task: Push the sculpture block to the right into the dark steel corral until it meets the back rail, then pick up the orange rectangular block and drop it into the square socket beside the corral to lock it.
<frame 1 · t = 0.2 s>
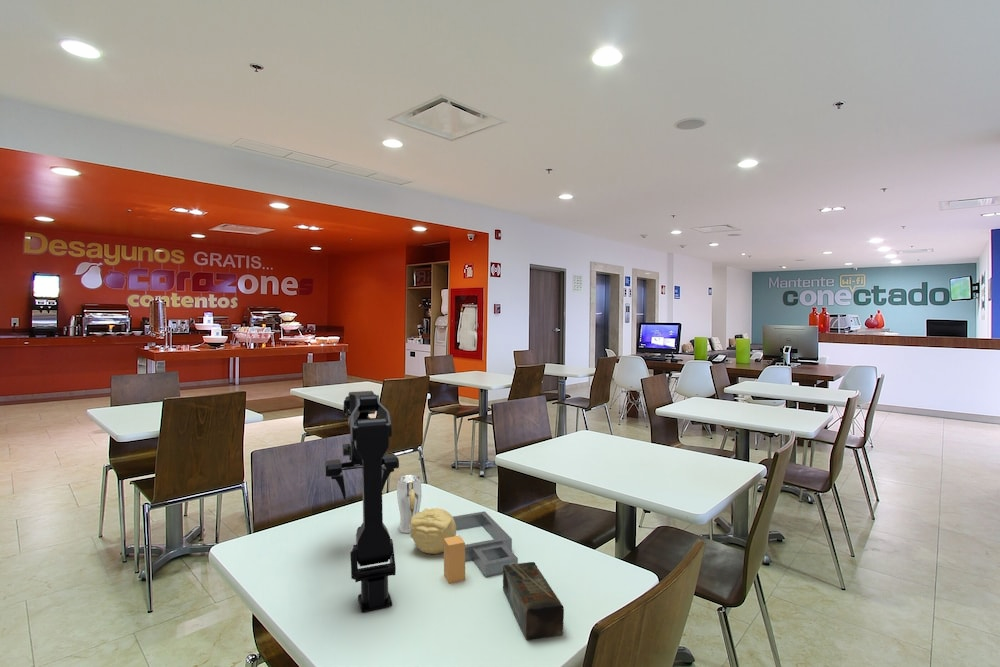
hand: (362, 496, 134), 14 cm above the table, tool pointing down, fingers open, 9 cm apart
beer glass: (409, 529, 146), on the table
sculpture: (434, 549, 134), on the table
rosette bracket: (484, 552, 132), on the table
orange rectangular block: (454, 577, 119), on the table
beverage carton: (530, 612, 106), on the table
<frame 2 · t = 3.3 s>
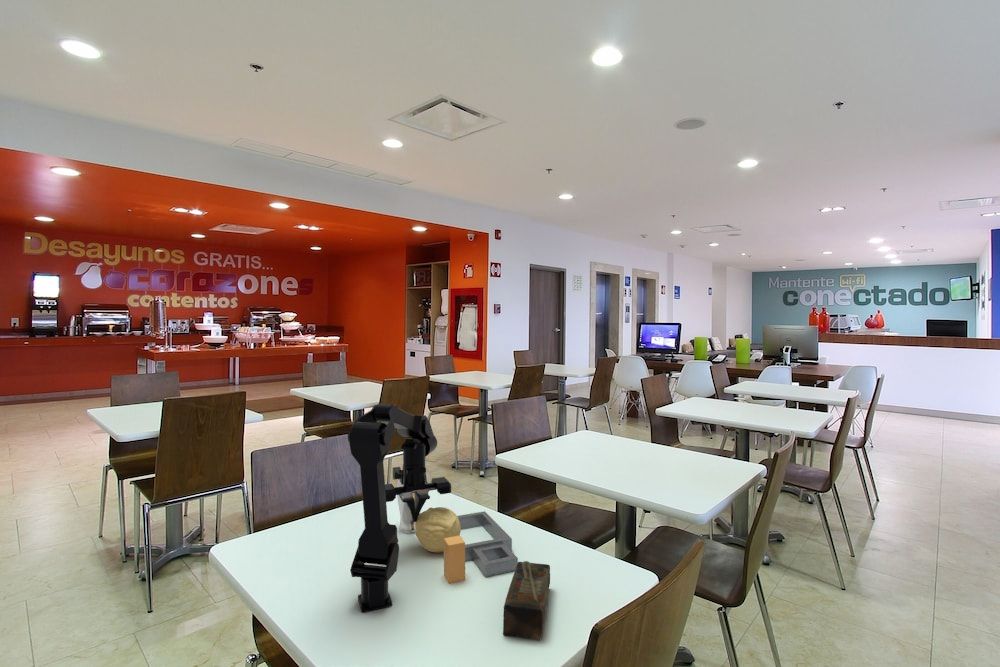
hand: (414, 521, 132), 8 cm above the table, tool pointing down, fingers closed
sculpture: (438, 547, 135), on the table, touching gripper
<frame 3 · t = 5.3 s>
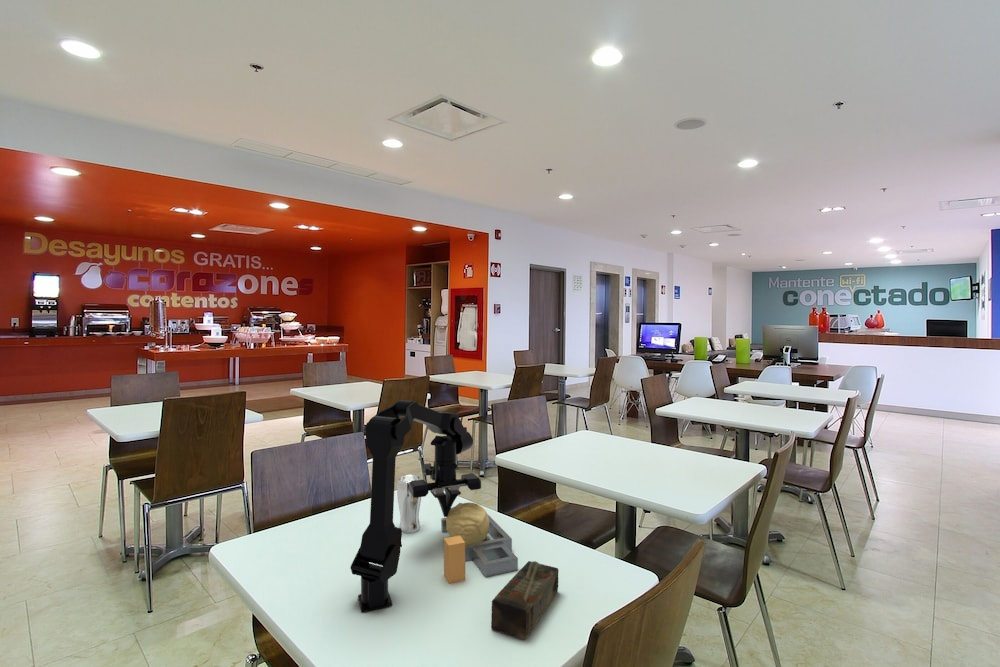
hand: (445, 516, 135), 8 cm above the table, tool pointing down, fingers closed
sculpture: (468, 542, 138), on the table, touching gripper
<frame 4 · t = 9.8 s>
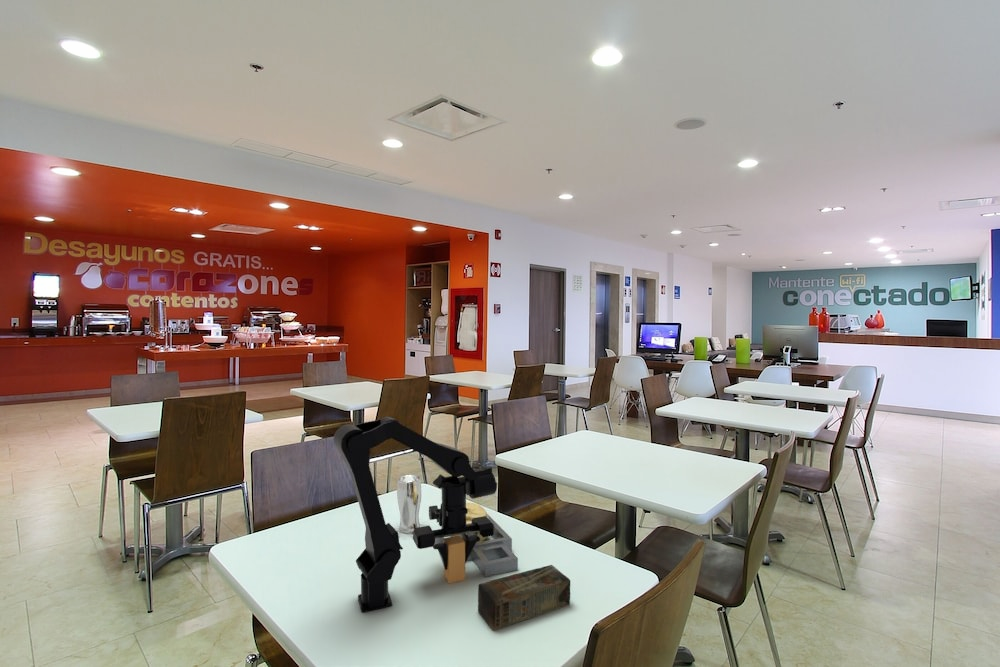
hand: (454, 567, 119), 3 cm above the table, tool pointing down, fingers closed on orange rectangular block, 4 cm apart
sculpture: (468, 542, 138), on the table
orange rectangular block: (454, 577, 119), on the table, touching gripper
when the fingers open (4 cm above the table, at t = 14.0 s): orange rectangular block drops 1 cm, resting in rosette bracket.
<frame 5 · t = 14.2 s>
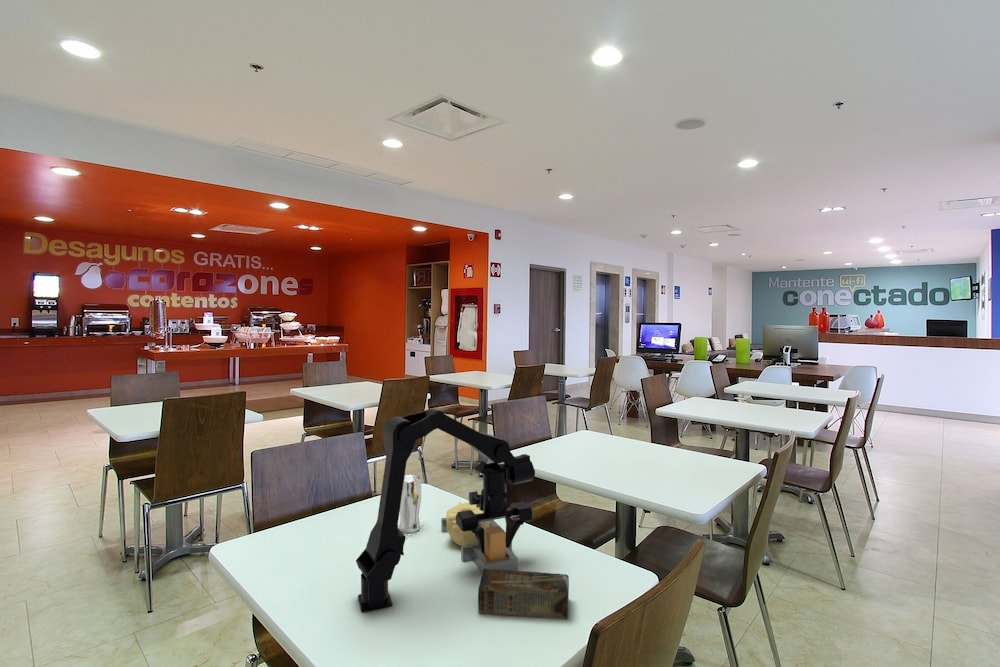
hand: (494, 549, 125), 4 cm above the table, tool pointing down, fingers open, 6 cm apart
orange rectangular block: (495, 565, 125), resting in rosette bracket
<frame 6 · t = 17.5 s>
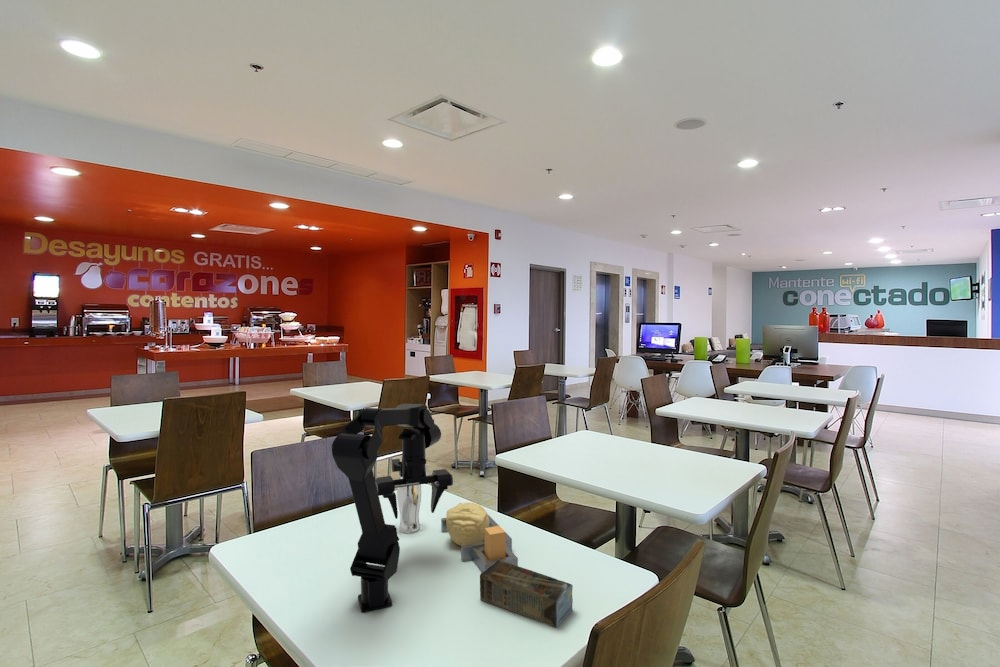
hand: (414, 515, 126), 12 cm above the table, tool pointing down, fingers open, 9 cm apart
at the end: sculpture inside the target area (1.1 cm from its centre), on the table; orange rectangular block 0.0 cm from the target spot on the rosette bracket, point 0.0 cm above the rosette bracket's base; the gripper is holding nothing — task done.
